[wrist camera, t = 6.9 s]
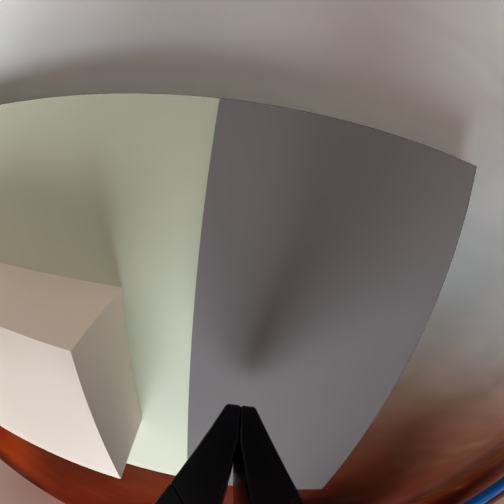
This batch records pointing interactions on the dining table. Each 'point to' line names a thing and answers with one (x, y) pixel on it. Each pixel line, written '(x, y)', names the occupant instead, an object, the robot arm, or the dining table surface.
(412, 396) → the dining table surface
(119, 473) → the cream block
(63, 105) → the board
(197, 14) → the dining table surface
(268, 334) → the mats
